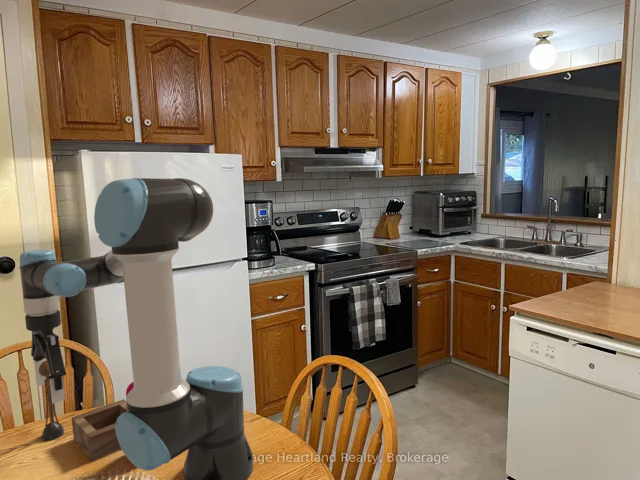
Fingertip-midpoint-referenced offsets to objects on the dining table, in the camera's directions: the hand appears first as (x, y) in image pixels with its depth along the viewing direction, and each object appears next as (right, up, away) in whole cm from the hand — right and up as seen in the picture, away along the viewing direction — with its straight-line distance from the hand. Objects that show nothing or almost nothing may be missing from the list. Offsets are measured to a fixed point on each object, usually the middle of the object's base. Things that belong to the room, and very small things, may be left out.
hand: (50, 392), depth 116 cm
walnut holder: (+16, -11, -1) cm, 20 cm away
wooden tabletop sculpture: (0, -11, +1) cm, 12 cm away
